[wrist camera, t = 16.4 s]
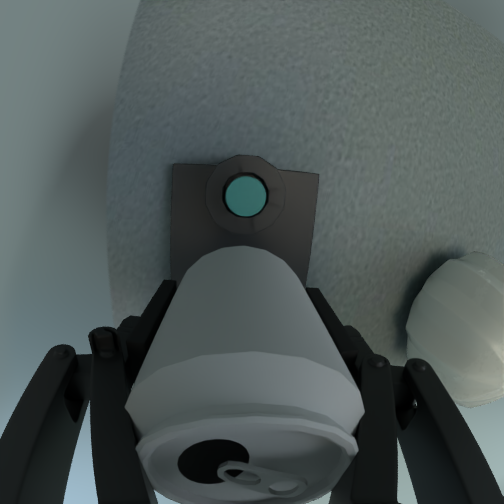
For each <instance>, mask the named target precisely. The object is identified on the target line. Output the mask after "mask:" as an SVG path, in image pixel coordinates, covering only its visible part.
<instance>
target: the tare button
mask: <svg viewBox="0 0 504 504" xmlns="http://www.w3.org/2000/svg"><path fill="white" fill-rule="evenodd" d="M265 201H266V192H265V189H264V187H263V185H262V184H261V183H260V182H259V181H258V180H257V179H255V178H253V177H248V176H242V177H239V178H236V179H235V180H233V181H232V182H231V183H230V185H229V186H228V188H227V191H226V202H227V205H228V207H229V208H230V210H231V211H232V212H234V213H235V214H237V215H240V216H252V215H254V214H256V213H258V212H259V211H260V210H261V209H262V208H263V206H264V204H265Z"/></svg>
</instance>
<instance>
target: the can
mask: <svg viewBox="0 0 504 504" xmlns="http://www.w3.org/2000/svg"><path fill="white" fill-rule="evenodd" d="M125 409H126V410H127V411H128V413H129V414H130V417H131V421H132V425H133V429H134V432H135V435H136V439H137V442H138V445H137V446H136V451H137V453H138V456H139V458H140V461H141V463H142V465H143V468H144V470H145V472H146V474H147V476H148V479H149V481H150V483H151V485H152V487H153V489H154V490H155V491H157V492H158V493H160V494H162V495H163V496H165V497H166V498H168V499H170V500H173V501H175V502H178V503H181V504H306V503H308V502H311V501H314V500H316V499H319V498H320V497H322V496H324V495H325V494H327V493H329V492H330V491H332V489H333V488H334V487H335V485H336V484H337V483H338V481H339V479H340V478H341V476H342V474H343V473H344V472H345V470H346V469H347V468H348V467H349V465H350V463H351V462H352V460H353V459H354V457H355V456H356V454H357V452H358V451H359V450H358V446H357V443H356V440H355V438H354V436H355V433H356V431H357V428H358V425H359V421H360V419H361V417H362V416H363V414H364V413H365V410H364V406H363V402H362V398H361V394H360V391H359V389H358V387H357V385H356V384H355V382H354V380H353V378H352V376H351V374H350V372H349V370H348V368H347V366H346V364H345V363H344V361H343V359H342V357H341V355H340V353H339V351H338V349H337V348H336V346H335V344H334V342H333V340H332V338H331V336H330V335H329V333H328V331H327V329H326V327H325V325H324V324H323V322H322V320H321V318H320V316H319V314H318V313H317V311H316V309H315V307H314V305H313V304H312V302H311V300H310V298H309V296H308V295H307V293H306V291H305V289H304V287H303V286H302V284H301V282H300V280H299V278H298V277H297V275H296V274H295V273H294V272H293V271H292V269H291V268H290V267H289V266H288V265H287V264H286V263H285V261H284V260H282V259H280V258H278V257H277V256H275V255H273V254H272V253H270V252H268V251H266V250H263V249H258V248H253V247H249V246H235V247H225V248H221V249H218V250H216V251H214V252H211V253H209V254H207V255H204V256H202V257H201V258H200V259H199V260H198V261H197V262H196V263H195V264H193V265H192V266H191V267H190V268H189V269H188V270H187V272H186V274H185V275H184V277H183V279H182V281H181V283H180V285H179V287H178V289H177V291H176V293H175V295H174V297H173V299H172V301H171V303H170V305H169V307H168V309H167V312H166V314H165V316H164V318H163V320H162V322H161V324H160V327H159V329H158V331H157V333H156V335H155V337H154V340H153V342H152V344H151V346H150V349H149V351H148V353H147V355H146V358H145V360H144V362H143V364H142V367H141V369H140V371H139V374H138V376H137V378H136V381H135V383H134V385H133V388H132V390H131V393H130V395H129V397H128V400H127V403H126V405H125Z"/></svg>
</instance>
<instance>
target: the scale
mask: <svg viewBox="0 0 504 504" xmlns="http://www.w3.org/2000/svg"><path fill="white" fill-rule="evenodd" d="M242 176H248V177H253V178H255V179H257V180H258V181H259V182H260V183H261V184H262V185H263V187H264V189H265V192H266V201H265V204H264V206H263V208H262V209H261V210H260V211H259V212H258V213H256V214H254V215H252V216H240V215H237V214H235V213H234V212H232V211H231V210H230V208H229V207H228V205H227V202H226V191H227V188H228V186H229V185H230V183H231V182H232V181H233V180H235V179H236V178H239V177H242ZM318 183H319V174H315V173H307V172H298V171H289V170H279V169H276V167H274V166H273V165H271V164H270V163H268V162H267V161H265V160H264V159H263V158H261V157H259V156H250V155H236V156H234V157H232V158H230V159H227V160H225V161H223V162H221V163H219V164H218V165H206V164H173V175H172V196H171V238H170V258H171V280H177V289H178V287H179V285H180V283H181V281H182V279H183V277H184V275H185V274H186V272H187V270H188V269H189V268H190V267H191V266H192V265H193V264H195V263H196V262H197V261H198V260H199V259H200V258H201V257H202V256H204V255H207V254H209V253H211V252H214V251H216V250H218V249H221V248H225V247H235V246H249V247H253V248H258V249H263V250H266V251H268V252H270V253H272V254H273V255H275V256H277V257H278V258H280V259H282V260H284V261H285V263H286V264H287V265H288V266H289V267H290V268H291V269H292V271H293V272H294V273H295V274H296V275H297V277H298V278H299V280H300V282H301V284H302V286H303V287H304V289H305V288H306V281H307V274H308V267H309V260H310V253H311V245H312V237H313V229H314V221H315V212H316V203H317V193H318Z"/></svg>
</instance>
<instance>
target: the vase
mask: <svg viewBox="0 0 504 504" xmlns="http://www.w3.org/2000/svg"><path fill="white" fill-rule="evenodd" d="M406 331H407V334H408V337H407V359H408V360H409V359H411V358H420V359H423V360H425V361H426V362H428V363H429V364H430V365H431V367H432V368H433V370H434V371H435V373H436V374H437V376H438V377H439V379H440V380H441V382H442V384H443V385H444V387H445V388H446V390H447V391H448V393H449V395H450V396H451V398H452V400H453V401H454V402H455V403H456V404H458V405H460V406H464V407H466V408H473V407H477V406H481V405H485V404H488V403H491V402H494V401H496V400H498V399H500V398H502V397H504V264H502V263H501V262H499V261H498V260H496V259H495V258H493V257H491V256H489V255H487V254H484V253H481V252H475V251H474V252H472V253H469V254H467V255H465V256H463V257H460V258H459V259H449V260H448V261H446V262H445V263H444V264H443V265H442V266H440V267H439V268H438V269H437V270H436V271H435V272H434V273H432V274H431V275H430V277H429V278H428V279H427V281H426V282H425V284H424V286H423V288H422V290H421V291H420V292H419V294H418V295H417V296H416V298H415V299H414V302H413V304H412V307H411V310H410V313H409V317H408V321H407V324H406Z"/></svg>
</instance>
